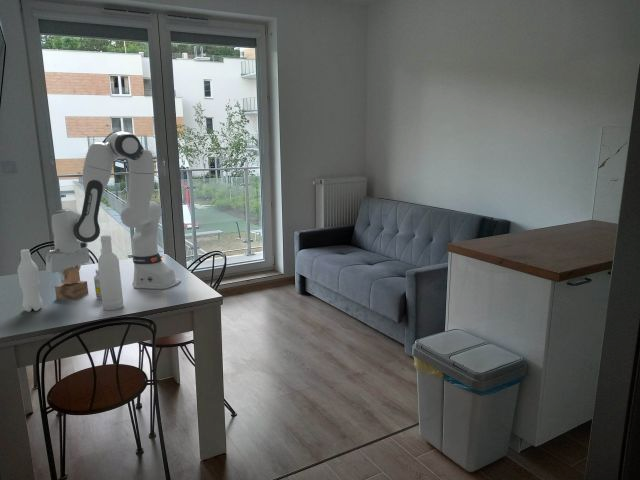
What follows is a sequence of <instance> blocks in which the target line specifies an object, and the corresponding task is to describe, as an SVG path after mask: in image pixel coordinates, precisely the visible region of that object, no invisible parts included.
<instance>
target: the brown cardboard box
mask: <svg viewBox="0 0 640 480" xmlns="http://www.w3.org/2000/svg"><path fill="white" fill-rule="evenodd" d="M63 273H64V275H67V279H65V280H61V279H60V281H61V283H60V284H62V283H64V284H73V283H76V282H78V281H81V277H80V270H79V267H75V266H74V267H71V268H68V269H65V270H64V272H63Z"/></svg>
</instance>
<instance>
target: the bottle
mask: <svg viewBox="0 0 640 480" xmlns="http://www.w3.org/2000/svg"><path fill="white" fill-rule="evenodd" d="M100 243H101V251H102V252H101V254H100V255H99V257H98V261H97V269H99V277H100V286H101V295H102V299H101V304H102V309H103V310H105V311H115V310H119V309H122V308H124V297H123V287H122V278H121V269H120V268H121V267H120V260H119V258H118V256H117V254H115V253H114V252H113V248H112V236H111V235H110V234H108V235H107V234H106V235H101V236H100Z"/></svg>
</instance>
